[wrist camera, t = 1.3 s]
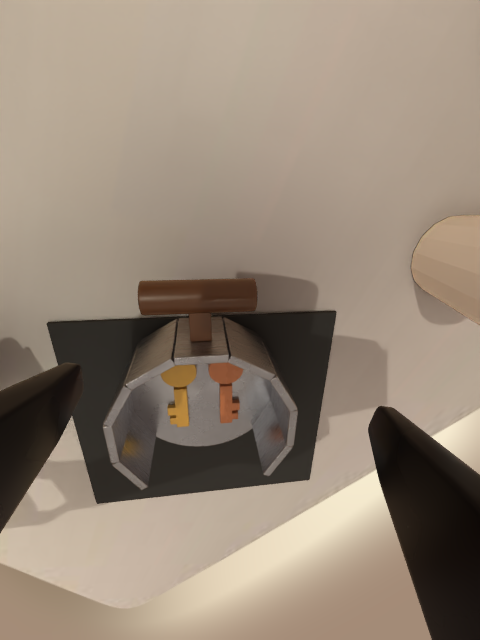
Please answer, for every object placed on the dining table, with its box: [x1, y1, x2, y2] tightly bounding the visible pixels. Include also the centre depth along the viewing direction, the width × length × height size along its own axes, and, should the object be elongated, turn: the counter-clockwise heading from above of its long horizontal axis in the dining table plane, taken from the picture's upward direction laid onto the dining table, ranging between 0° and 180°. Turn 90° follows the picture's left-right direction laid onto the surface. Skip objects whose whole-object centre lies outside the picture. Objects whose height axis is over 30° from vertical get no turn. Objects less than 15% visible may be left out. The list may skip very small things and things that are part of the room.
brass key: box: [161, 364, 197, 427], centre depth 21 cm, size 6×2×1 cm, turn 179°
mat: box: [47, 311, 336, 504], centre depth 24 cm, size 20×18×2 cm
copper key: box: [208, 363, 243, 424], centre depth 21 cm, size 6×2×1 cm, turn 179°
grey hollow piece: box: [103, 278, 298, 490], centre depth 19 cm, size 11×14×5 cm
